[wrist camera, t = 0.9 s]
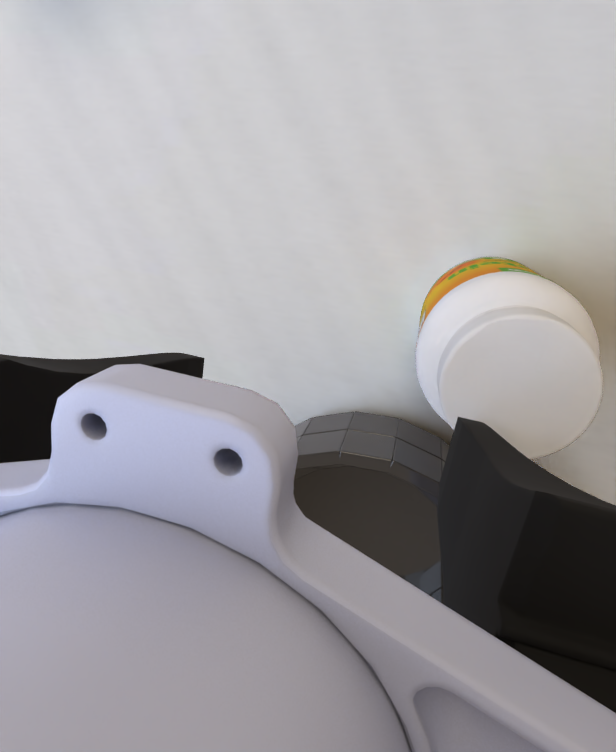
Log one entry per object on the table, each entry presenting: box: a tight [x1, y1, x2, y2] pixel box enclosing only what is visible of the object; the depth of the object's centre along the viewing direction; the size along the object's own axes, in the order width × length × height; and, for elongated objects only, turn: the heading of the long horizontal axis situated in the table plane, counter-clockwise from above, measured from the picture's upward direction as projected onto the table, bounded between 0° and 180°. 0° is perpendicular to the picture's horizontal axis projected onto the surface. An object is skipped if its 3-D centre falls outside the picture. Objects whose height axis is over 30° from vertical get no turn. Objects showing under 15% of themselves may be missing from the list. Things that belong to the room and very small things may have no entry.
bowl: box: [293, 412, 450, 604], centre depth 24 cm, size 13×13×5 cm
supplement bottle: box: [415, 257, 603, 459], centre depth 17 cm, size 5×5×10 cm
